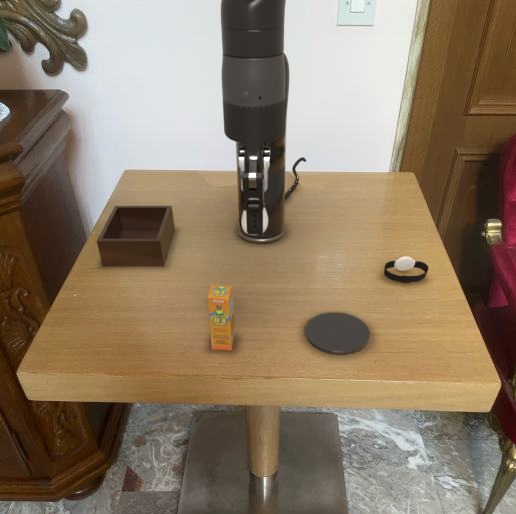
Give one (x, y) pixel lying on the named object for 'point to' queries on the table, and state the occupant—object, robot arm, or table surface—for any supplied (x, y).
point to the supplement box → (221, 317)
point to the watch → (404, 265)
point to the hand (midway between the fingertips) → (255, 225)
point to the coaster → (337, 333)
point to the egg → (244, 220)
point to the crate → (136, 236)
